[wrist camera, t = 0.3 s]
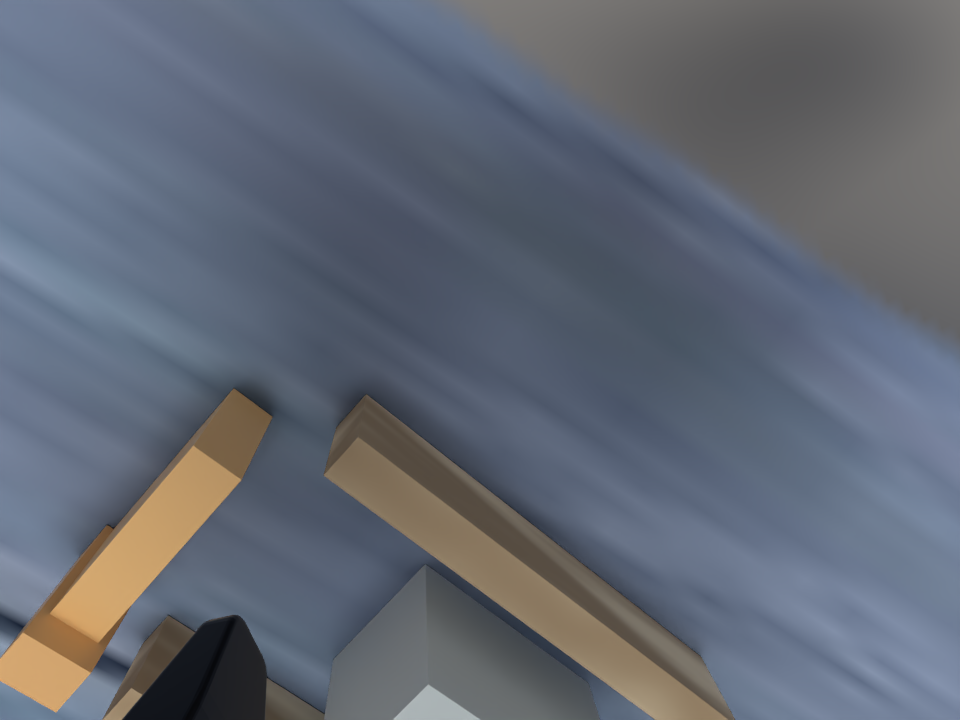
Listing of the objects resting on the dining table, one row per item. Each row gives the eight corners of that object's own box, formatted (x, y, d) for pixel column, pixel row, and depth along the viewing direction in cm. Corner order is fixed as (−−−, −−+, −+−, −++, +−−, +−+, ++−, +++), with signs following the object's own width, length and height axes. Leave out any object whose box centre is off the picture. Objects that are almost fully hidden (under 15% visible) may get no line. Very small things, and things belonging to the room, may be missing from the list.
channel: (485, 856, 30) (494, 947, 27) (142, 644, 26) (101, 720, 23) (701, 657, 28) (739, 728, 25) (366, 393, 24) (358, 436, 21)
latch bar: (130, 591, 25) (55, 712, 20) (78, 558, 25) (-13, 673, 20) (278, 421, 24) (241, 503, 19) (227, 382, 23) (172, 456, 18)
